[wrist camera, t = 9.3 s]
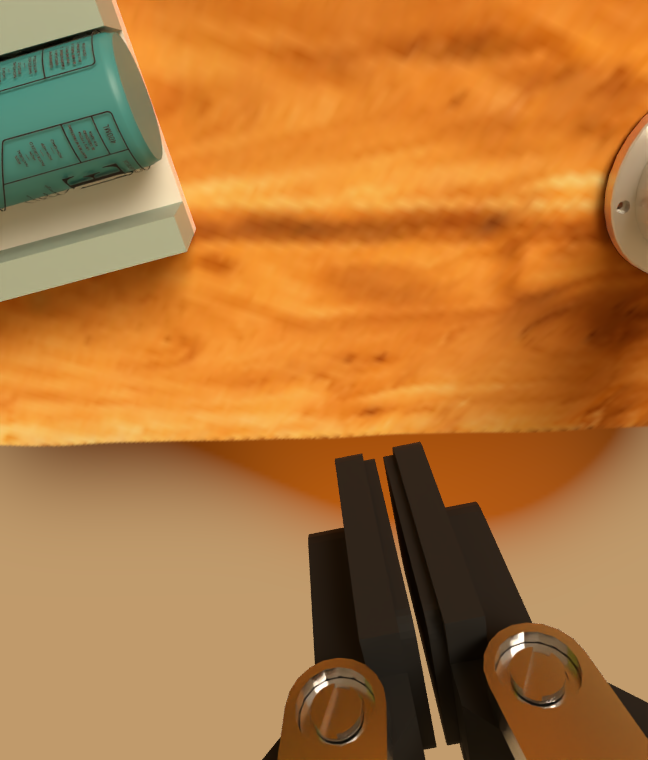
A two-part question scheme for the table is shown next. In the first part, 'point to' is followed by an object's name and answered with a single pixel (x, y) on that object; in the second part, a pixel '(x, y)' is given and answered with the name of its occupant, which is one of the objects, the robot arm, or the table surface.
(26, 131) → the beverage bottle
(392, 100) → the table surface
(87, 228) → the cradle
